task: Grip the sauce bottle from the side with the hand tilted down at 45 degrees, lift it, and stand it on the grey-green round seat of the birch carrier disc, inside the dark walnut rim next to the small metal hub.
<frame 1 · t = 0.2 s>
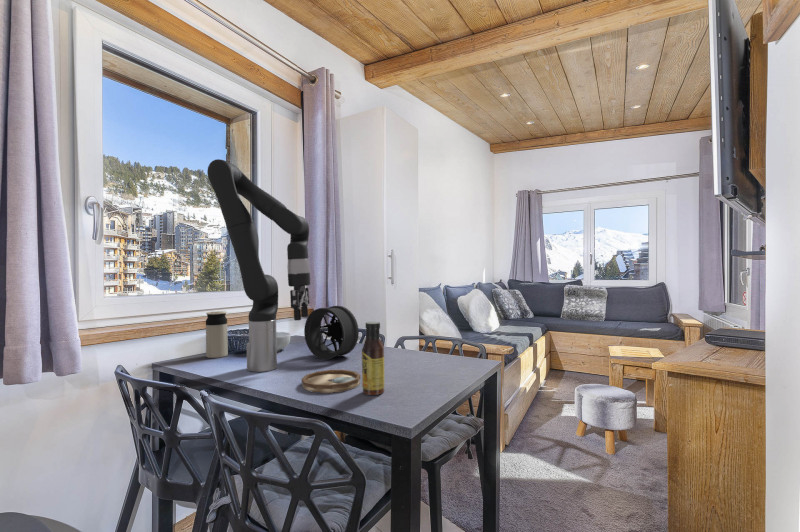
hand: (301, 318, 140), 18 cm above the table, tool pointing down, fingers open, 8 cm apart
travel mug: (217, 356, 164), on the table
sauce bottle: (373, 393, 112), on the table
wheel rim: (331, 357, 158), on the table
cereal bowl: (270, 351, 173), on the table
carrier: (331, 384, 121), on the table
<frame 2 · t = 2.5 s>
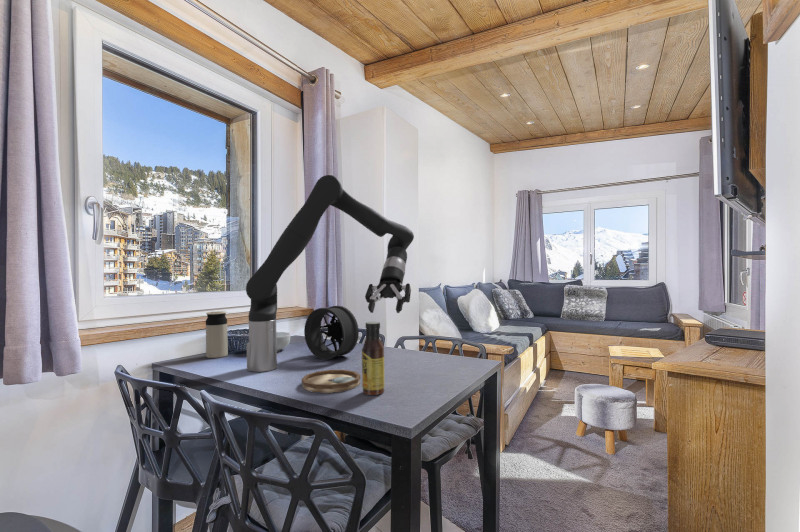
hand: (384, 311, 124), 22 cm above the table, tool tilted 45°, fingers open, 8 cm apart
nothing on the table moved.
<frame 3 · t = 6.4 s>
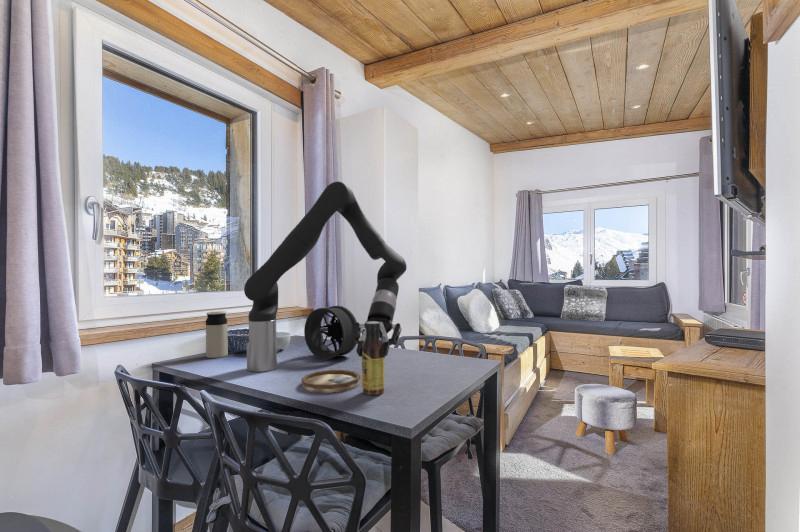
hand: (371, 355, 111), 11 cm above the table, tool tilted 45°, fingers closed on sauce bottle, 6 cm apart
sauce bottle: (373, 393, 112), on the table, touching gripper
everything else where it was.
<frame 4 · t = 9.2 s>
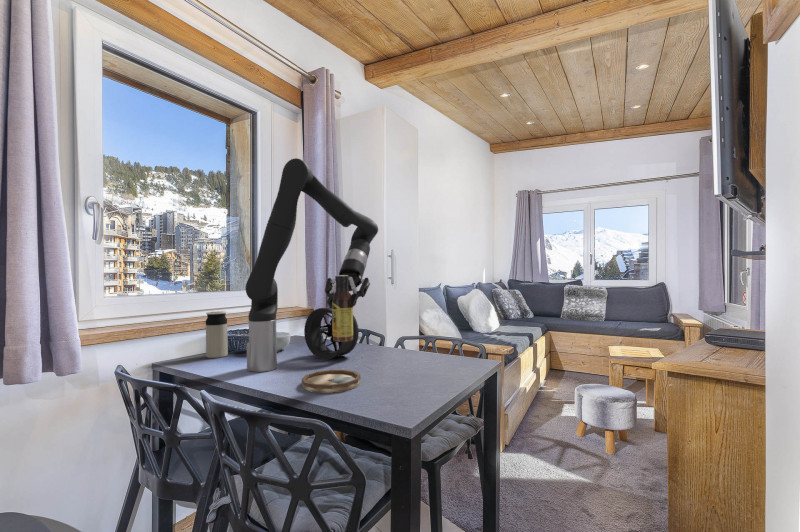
hand: (340, 305, 120), 24 cm above the table, tool tilted 45°, fingers closed on sauce bottle, 6 cm apart
sauce bottle: (343, 341, 121), point 13 cm above the table, touching gripper
everything else where it was.
when the fingers open (13 cm above the table, at t = 12.2 s): sauce bottle stays where it is, resting on carrier.
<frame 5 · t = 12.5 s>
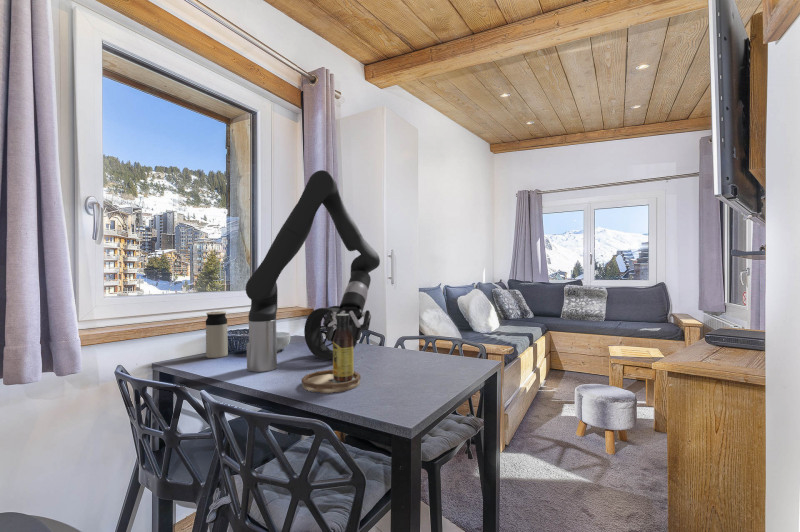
hand: (341, 339, 120), 14 cm above the table, tool tilted 45°, fingers open, 8 cm apart
sauce bottle: (343, 380, 121), point 1 cm above the table, touching carrier
everything else where it was.
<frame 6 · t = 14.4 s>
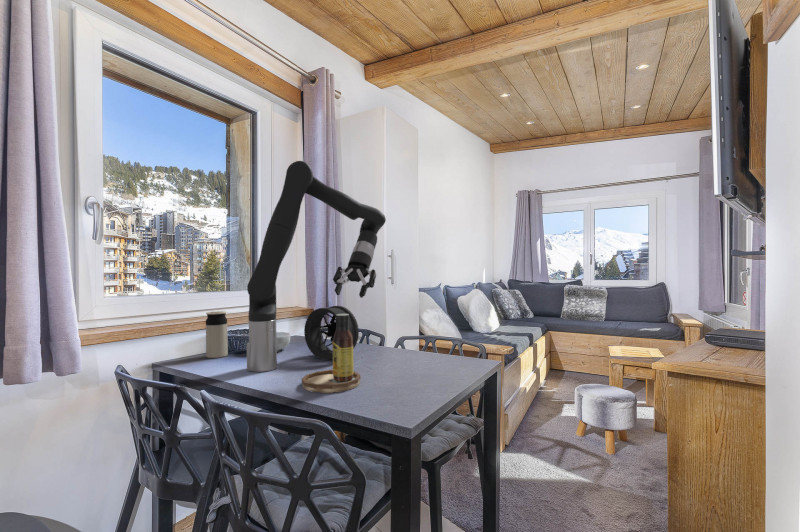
hand: (348, 295, 134), 26 cm above the table, tool tilted 35°, fingers open, 8 cm apart
nothing on the table moved.
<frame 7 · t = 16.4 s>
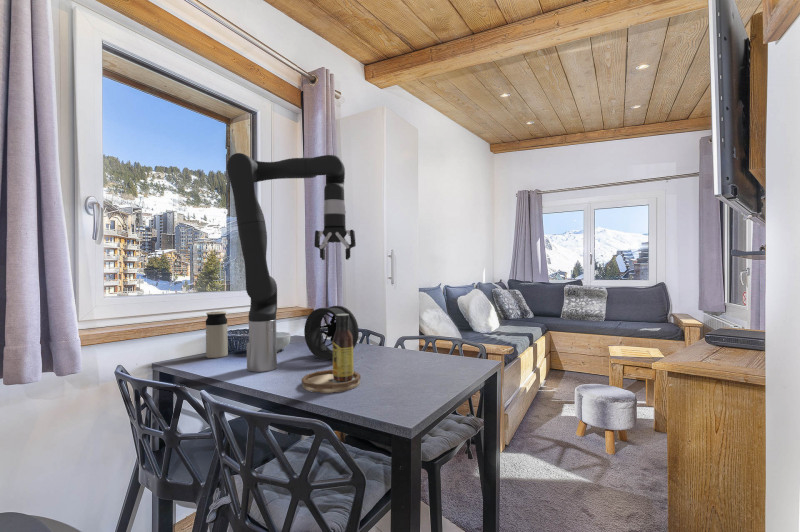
hand: (335, 259, 142), 38 cm above the table, tool pointing down, fingers open, 8 cm apart
nothing on the table moved.
at the end: sauce bottle 0.4 cm from the target spot on the carrier, point 1.1 cm above the carrier's base; sauce bottle tilted 0°; the gripper is holding nothing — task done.
